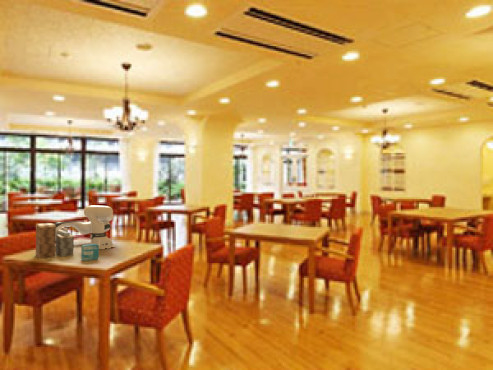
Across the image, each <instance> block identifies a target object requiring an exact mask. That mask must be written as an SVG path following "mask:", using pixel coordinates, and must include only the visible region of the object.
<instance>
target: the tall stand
mask: <svg viewBox="0 0 493 370" xmlns="http://www.w3.org/2000/svg"><path fill="white" fill-rule="evenodd" d="M35 225H36V226H35V227H36V231H35V256H36V258H38V259H39V258H40V259H47V258H56V242H55V231H56V225H55V224H54V223H52V222H51V223H50V222H45V223H36V224H35Z"/></svg>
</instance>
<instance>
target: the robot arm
mask: <svg viewBox="0 0 493 370" xmlns="http://www.w3.org/2000/svg"><path fill="white" fill-rule="evenodd" d="M83 215H84V216H85V217H86V218H87V219H88V220H89V221H87V222H82V221H80V220H74V221H62V222H60V221H56V222H54V223H53V224H55V225H56V231H55V243H56V235H59V234H58V233H57V230H64V231H66V232H69V229H68V228H69V227H73V228H75V230H76V231H78V233H80V234H81V235H88V234H90V243H89V244H97V245H99V250H104V249H105V248H107V249H111V247H114V248H116V245H115V244H113V240H112V239H111V238H110V237H108V236H109V233H108V231H109V230H110V229H111V227H112V225H111V223H110V222H111V221H113V219H114V210H113V208H112V207H111V206H108V205H87V206H86V207H84V209H83Z"/></svg>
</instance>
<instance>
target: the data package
mask: <svg viewBox="0 0 493 370" xmlns="http://www.w3.org/2000/svg"><path fill="white" fill-rule="evenodd" d="M99 252H100V249H99V245H97V244H90V243H89V244H82V245H81V251H80V253H81V255H80V257H81V258H80V259H81V260H82V261H84V262H87V261H96V260H98V259H99V256H100V254H99Z"/></svg>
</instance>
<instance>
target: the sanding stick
mask: <svg viewBox="0 0 493 370" xmlns="http://www.w3.org/2000/svg"><path fill="white" fill-rule="evenodd" d="M57 233H58V234H60V235H63V236H70V234H71V233H70V232H69V231H68V232H66V231H64V230H57Z"/></svg>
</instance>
